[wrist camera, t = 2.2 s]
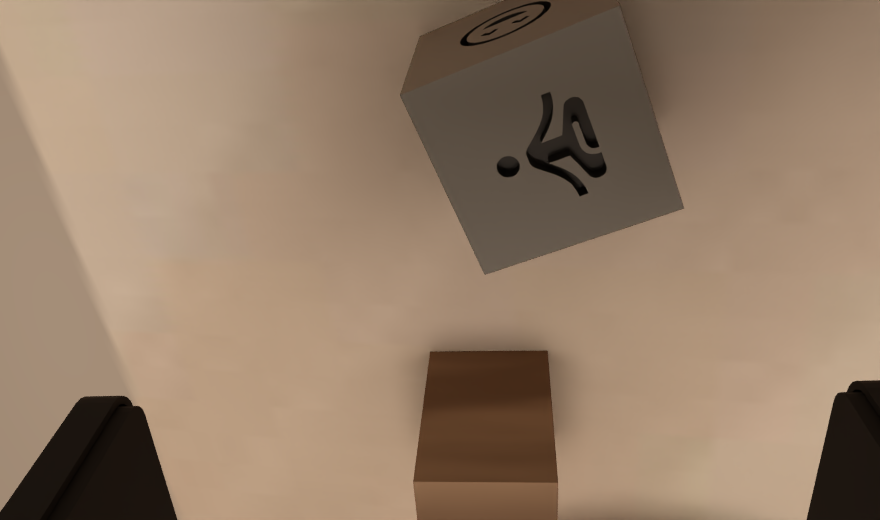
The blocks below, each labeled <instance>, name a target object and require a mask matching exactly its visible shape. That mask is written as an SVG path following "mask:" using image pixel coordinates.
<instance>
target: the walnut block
mask: <svg viewBox="0 0 880 520" xmlns="http://www.w3.org/2000/svg"><path fill="white" fill-rule="evenodd" d="M413 484H414V493H415V502H416V511H417V520H557V512H558V476H557V463H556V451H555V438H554V426H553V413H552V401H551V388H550V376H549V363H548V351H449V352H430V358H429V365H428V373H427V381H426V388H425V396H424V404H423V411H422V419H421V427H420V434H419V442H418V450H417V457H416V465H415V473H414V480H413Z"/></svg>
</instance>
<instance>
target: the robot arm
mask: <svg viewBox="0 0 880 520" xmlns="http://www.w3.org/2000/svg"><path fill="white" fill-rule="evenodd" d="M0 520H177V517H176V514H175V511H174V507H173V504H172V501H171V498H170V494H169V491H168V488H167V485H166V481H165V478H164V475H163V472H162V468H161V465H160V462H159V459H158V455H157V452H156V449H155V446H154V442H153V439H152V436H151V433H150V429H149V426H148V423H147V420H146V416H145V414H144V411H143V409H142V408H141V407H139V406H133V405H132V403H131V401H130V400H129V399H128V398H127V397H125V396H93V397H83V398H81V399H80V400H79V401H78V402H77V403H76V404H75V406H74V407H73V408H72V410H71V411H70V413H69V414H68V416H67V417H66V419H65V420H64V422H63V423H62V424H61V426H60V427H59V429H58V430H57V431H56V433H55V434H54V436H53V437H52V439H51V440H50V442H49V443H48V444H47V446H46V447H45V449H44V450H43V452H42V453H41V455H40V456H39V457H38V459H37V460H36V462H35V463H34V465H33V466H32V467H31V469H30V470H29V472H28V473H27V475H26V476H25V477H24V479H23V480H22V482H21V483H20V485H19V486H18V488H17V489H16V490H15V492H14V493H13V495H12V496H11V498H10V499H9V501H8V502H7V503H6V505H5V506H4V508H3V509H2V510H1V512H0ZM807 520H880V380H878V381H855V382H852V383H851V385H850V386H849V388H848V390H847V392H841V393H838V394H837V395H836V396H835V399H834V402H833V407H832V411H831V415H830V420H829V424H828V429H827V433H826V437H825V442H824V446H823V450H822V455H821V459H820V464H819V468H818V472H817V477H816V481H815V486H814V490H813V494H812V499H811V503H810V507H809V512H808V516H807Z"/></svg>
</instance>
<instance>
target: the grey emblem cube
mask: <svg viewBox="0 0 880 520" xmlns="http://www.w3.org/2000/svg"><path fill="white" fill-rule="evenodd" d="M400 96H401V98H402V101H403V103H404V105H405V107H406V109H407V111H408V113H409V115H410V117H411V120H412V122H413V124H414V126H415V128H416V130H417V132H418V134H419V137H420V139H421V141H422V143H423V145H424V147H425V149H426V151H427V153H428V156H429V158H430V160H431V162H432V164H433V166H434V168H435V170H436V173H437V175H438V177H439V179H440V181H441V183H442V185H443V187H444V189H445V192H446V194H447V196H448V198H449V200H450V202H451V204H452V206H453V209H454V211H455V213H456V215H457V217H458V219H459V221H460V223H461V225H462V228H463V230H464V232H465V234H466V236H467V238H468V240H469V242H470V245H471V247H472V249H473V251H474V253H475V255H476V257H477V259H478V261H479V264H480V266H481V268H482V270H483V272H484V274H485V275H486V274H489V273H492V272H495V271H498V270H501V269H504V268H507V267H510V266H513V265H516V264H519V263H522V262H525V261H528V260H531V259H534V258H537V257H540V256H543V255H546V254H549V253H552V252H555V251H558V250H561V249H564V248H567V247H570V246H573V245H576V244H579V243H582V242H585V241H588V240H591V239H594V238H597V237H600V236H603V235H606V234H609V233H612V232H615V231H618V230H621V229H624V228H627V227H630V226H633V225H636V224H639V223H642V222H645V221H648V220H651V219H654V218H657V217H660V216H663V215H666V214H669V213H672V212H675V211H678V210H681V209H684V207H683V203H682V200H681V197H680V194H679V191H678V188H677V184H676V181H675V178H674V175H673V172H672V169H671V166H670V162H669V159H668V156H667V153H666V150H665V147H664V143H663V140H662V137H661V134H660V131H659V128H658V125H657V121H656V118H655V115H654V112H653V109H652V106H651V102H650V99H649V96H648V93H647V90H646V87H645V84H644V80H643V77H642V74H641V71H640V68H639V65H638V61H637V58H636V55H635V52H634V49H633V46H632V42H631V39H630V36H629V33H628V30H627V27H626V24H625V20H624V17H623V14H622V11H621V8H620V5H619V3H618V1H617V0H504V1H502V2H500V3H497V4H495V5H493V6H490V7H488V8H486V9H483V10H481V11H479V12H476V13H474V14H472V15H469V16H467V17H464V18H462V19H460V20H457V21H455V22H453V23H450V24H448V25H446V26H443V27H441V28H439V29H436V30H434V31H432V32H429V33H427V34H425V35H422V36H420V38H419V41H418V44H417V47H416V49H415V52H414V55H413V58H412V61H411V64H410V67H409V70H408V73H407V76H406V79H405V82H404V85H403V88H402V91H401V94H400Z"/></svg>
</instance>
